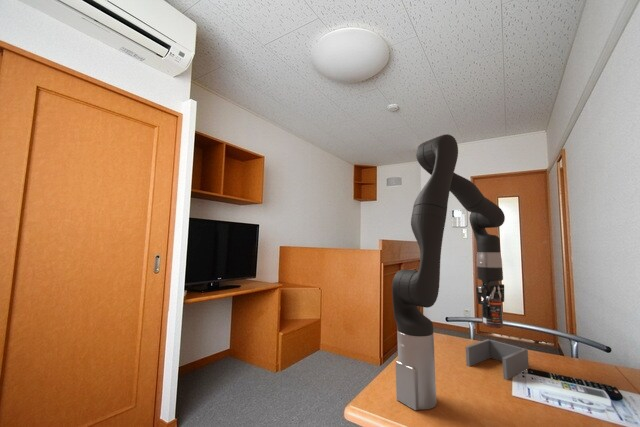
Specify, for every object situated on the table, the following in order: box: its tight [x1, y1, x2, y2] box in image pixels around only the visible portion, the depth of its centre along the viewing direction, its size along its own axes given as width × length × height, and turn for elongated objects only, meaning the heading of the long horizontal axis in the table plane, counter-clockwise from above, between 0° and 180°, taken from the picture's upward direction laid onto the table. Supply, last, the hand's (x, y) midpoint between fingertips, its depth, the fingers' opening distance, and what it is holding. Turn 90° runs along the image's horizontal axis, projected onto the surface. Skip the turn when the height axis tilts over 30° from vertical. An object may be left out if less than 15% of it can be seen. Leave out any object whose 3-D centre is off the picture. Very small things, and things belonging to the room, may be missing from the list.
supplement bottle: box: [481, 292, 504, 329], centre depth 96 cm, size 6×6×11 cm
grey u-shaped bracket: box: [465, 338, 530, 381], centre depth 95 cm, size 15×12×6 cm
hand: (492, 316), depth 95 cm, fingers closed on supplement bottle, 6 cm apart
